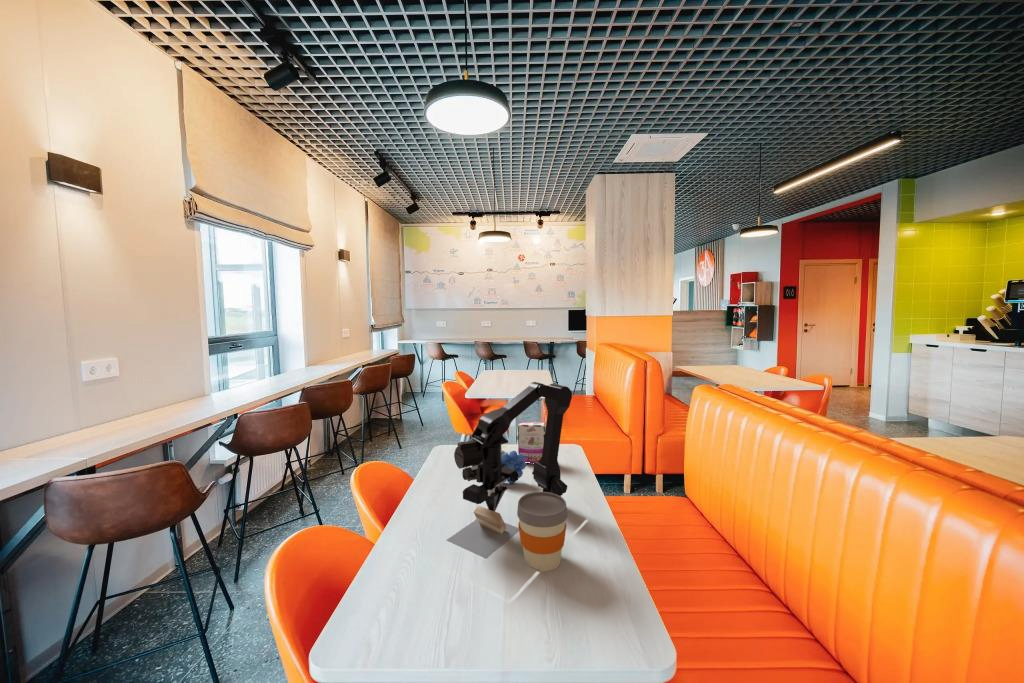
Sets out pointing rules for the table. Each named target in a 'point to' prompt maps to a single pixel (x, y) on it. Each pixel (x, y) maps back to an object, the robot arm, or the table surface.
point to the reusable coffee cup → (542, 529)
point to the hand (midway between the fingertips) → (492, 512)
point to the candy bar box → (531, 440)
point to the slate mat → (482, 538)
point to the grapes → (514, 463)
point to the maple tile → (490, 519)
